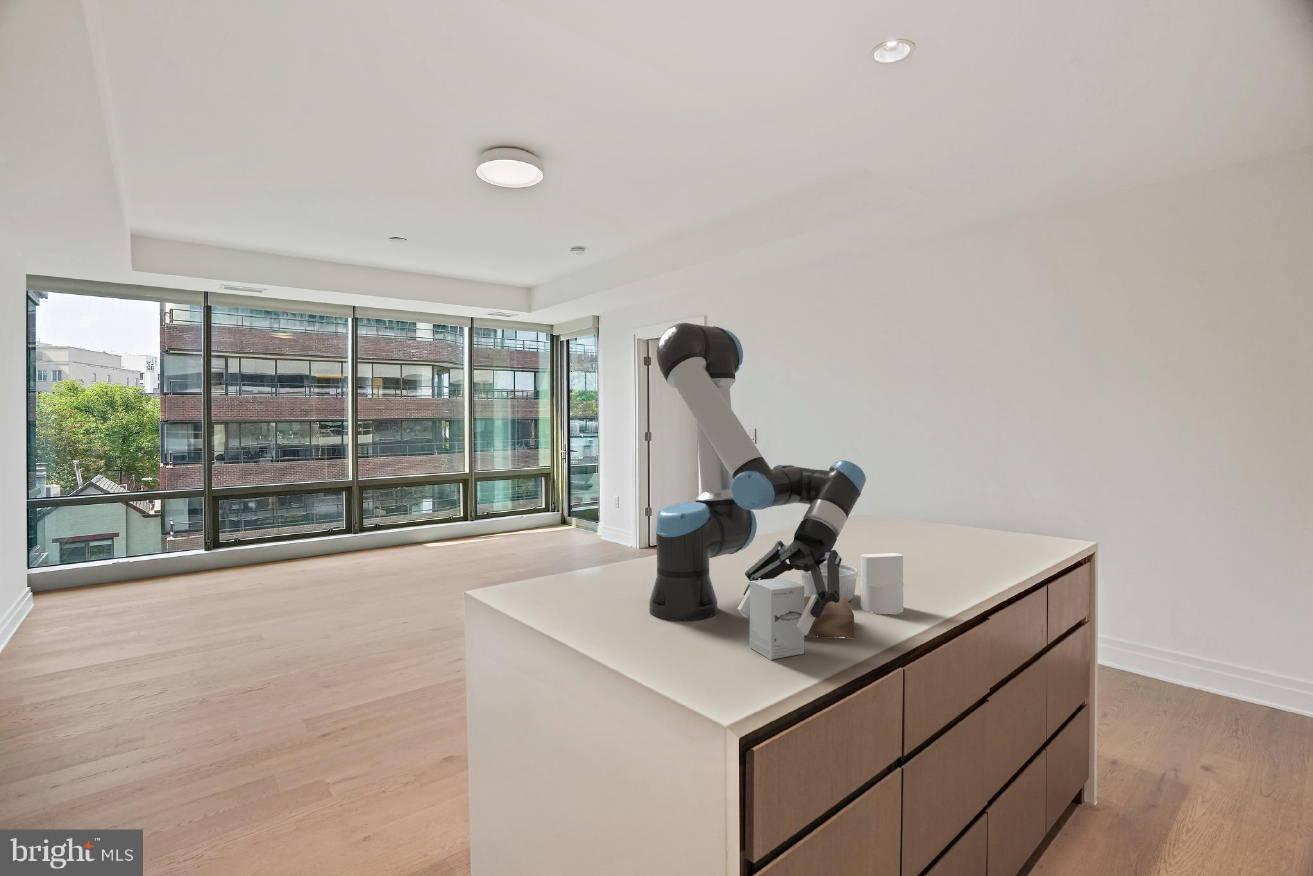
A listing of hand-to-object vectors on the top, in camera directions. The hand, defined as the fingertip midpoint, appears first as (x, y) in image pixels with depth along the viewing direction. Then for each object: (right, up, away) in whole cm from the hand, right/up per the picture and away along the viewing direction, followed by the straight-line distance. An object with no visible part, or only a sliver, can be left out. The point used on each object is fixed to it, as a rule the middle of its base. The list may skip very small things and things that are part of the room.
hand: (770, 622), depth 116 cm
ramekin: (+20, -5, +37) cm, 43 cm away
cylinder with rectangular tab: (+30, -5, +27) cm, 41 cm away
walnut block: (+13, -6, +15) cm, 20 cm away
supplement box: (+1, -6, +2) cm, 6 cm away
